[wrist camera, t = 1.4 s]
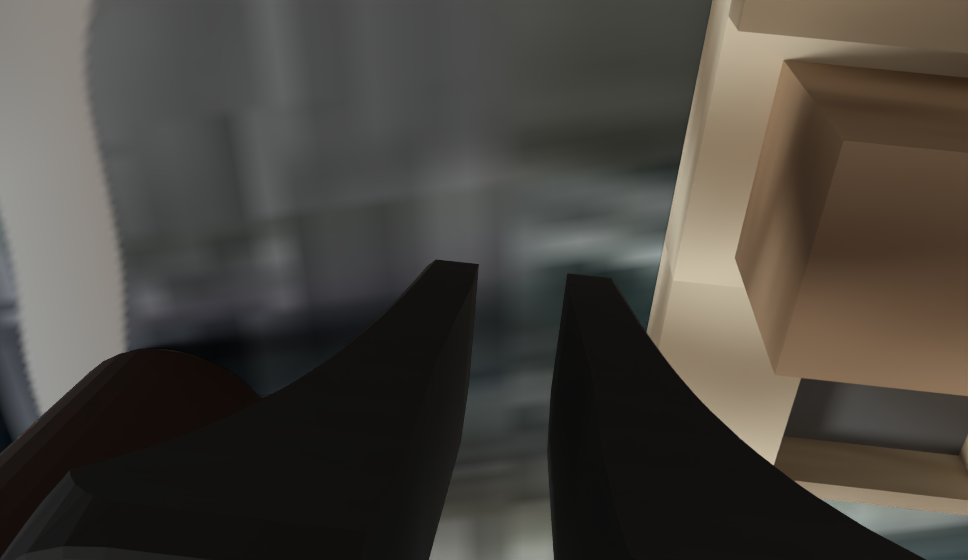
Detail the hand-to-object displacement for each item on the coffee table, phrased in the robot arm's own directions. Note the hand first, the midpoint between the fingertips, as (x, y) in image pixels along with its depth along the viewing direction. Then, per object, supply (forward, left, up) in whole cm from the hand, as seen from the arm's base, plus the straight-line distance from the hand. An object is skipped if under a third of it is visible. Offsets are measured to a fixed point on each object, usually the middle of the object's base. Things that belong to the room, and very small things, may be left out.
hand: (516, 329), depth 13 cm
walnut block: (0, -7, -7) cm, 10 cm away
